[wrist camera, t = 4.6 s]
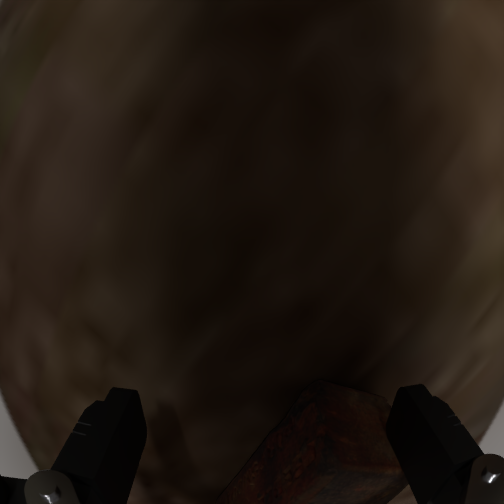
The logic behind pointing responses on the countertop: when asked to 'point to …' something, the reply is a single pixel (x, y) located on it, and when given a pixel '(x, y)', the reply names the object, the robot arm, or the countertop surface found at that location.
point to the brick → (323, 453)
